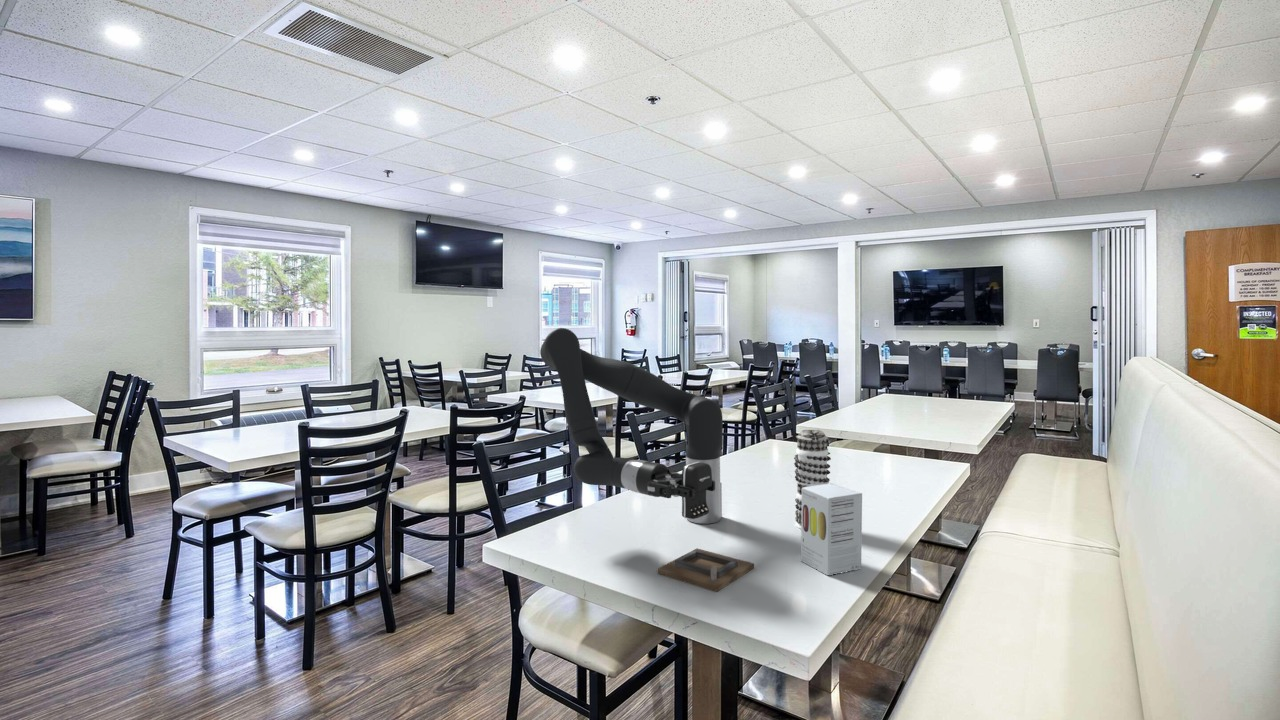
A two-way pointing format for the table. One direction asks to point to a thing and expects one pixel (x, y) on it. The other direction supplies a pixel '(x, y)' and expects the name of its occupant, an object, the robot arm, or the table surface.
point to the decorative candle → (810, 464)
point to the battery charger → (696, 489)
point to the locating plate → (706, 569)
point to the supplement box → (831, 528)
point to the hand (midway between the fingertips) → (704, 489)
